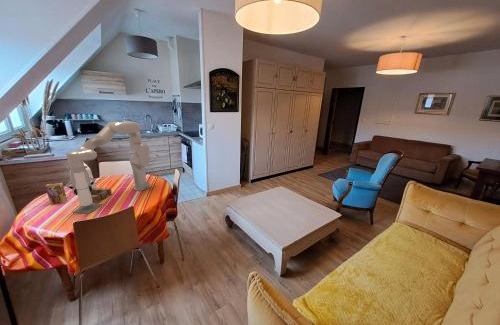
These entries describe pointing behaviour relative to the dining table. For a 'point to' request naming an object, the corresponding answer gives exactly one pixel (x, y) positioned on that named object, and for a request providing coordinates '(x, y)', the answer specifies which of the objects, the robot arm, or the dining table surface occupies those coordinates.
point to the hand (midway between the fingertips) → (83, 192)
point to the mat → (87, 208)
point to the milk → (89, 175)
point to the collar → (100, 194)
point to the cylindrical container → (82, 189)
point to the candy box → (56, 193)
